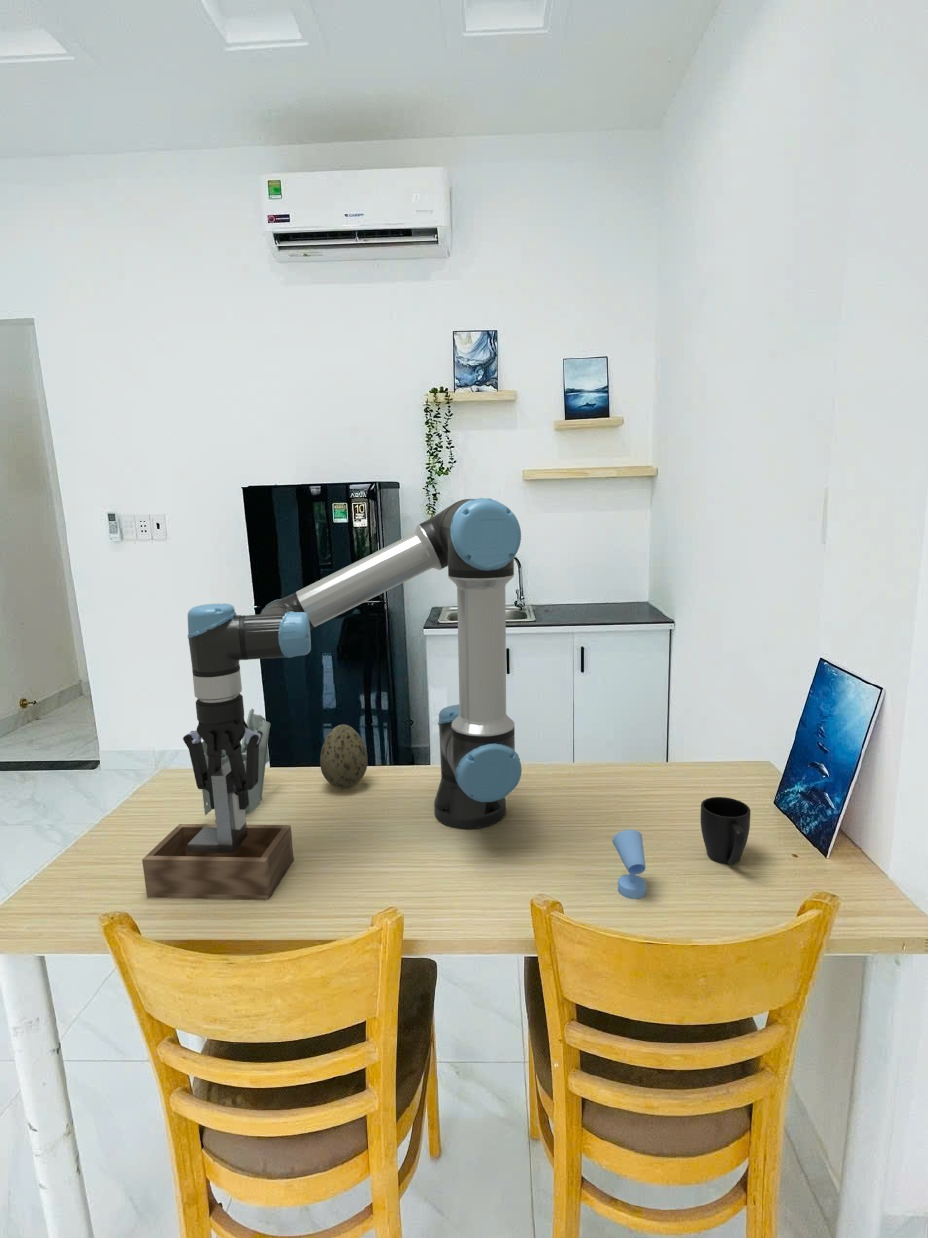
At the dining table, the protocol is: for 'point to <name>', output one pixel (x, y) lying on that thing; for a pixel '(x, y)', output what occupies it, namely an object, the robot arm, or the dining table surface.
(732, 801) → the mug
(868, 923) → the dining table surface
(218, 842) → the angle bracket
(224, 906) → the dining table surface
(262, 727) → the bracket
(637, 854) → the spotlight
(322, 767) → the decorative egg
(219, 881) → the open wooden box
